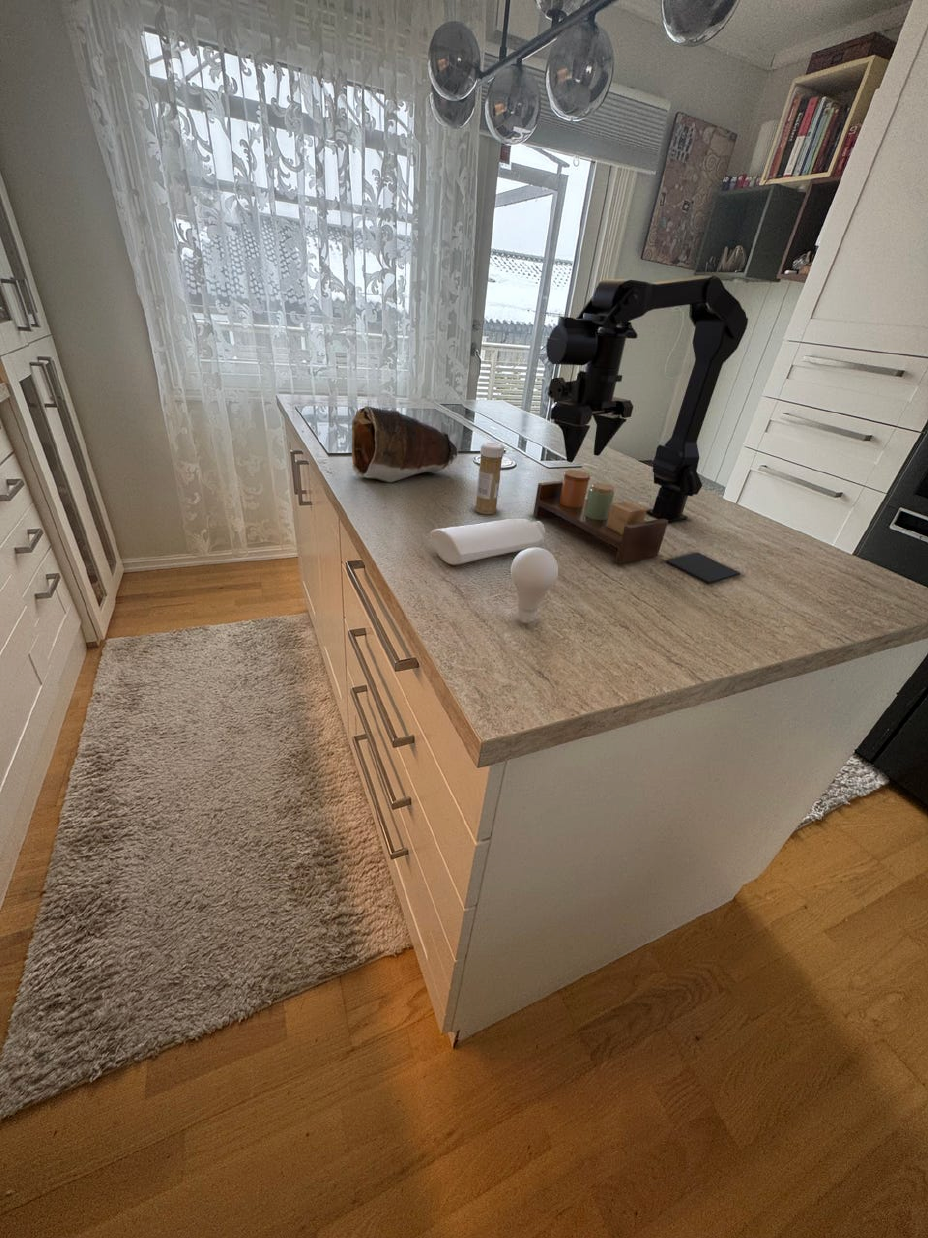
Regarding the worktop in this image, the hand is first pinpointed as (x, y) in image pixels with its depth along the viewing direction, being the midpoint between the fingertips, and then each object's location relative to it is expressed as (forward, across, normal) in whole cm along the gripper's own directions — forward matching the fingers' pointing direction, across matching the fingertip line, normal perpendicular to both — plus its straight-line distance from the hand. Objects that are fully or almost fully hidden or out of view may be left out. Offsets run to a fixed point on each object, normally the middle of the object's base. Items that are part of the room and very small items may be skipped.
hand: (583, 458), depth 97 cm
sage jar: (+10, 0, +5) cm, 11 cm away
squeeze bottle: (+14, +22, -1) cm, 26 cm away
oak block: (+10, +2, +12) cm, 16 cm away
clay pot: (+14, +6, -42) cm, 45 cm away
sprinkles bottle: (+14, +8, -15) cm, 22 cm away
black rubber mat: (+14, -4, +26) cm, 30 cm away
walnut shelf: (+14, 0, +5) cm, 15 cm away
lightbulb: (+14, +36, +17) cm, 42 cm away
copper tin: (+10, -2, -2) cm, 10 cm away
